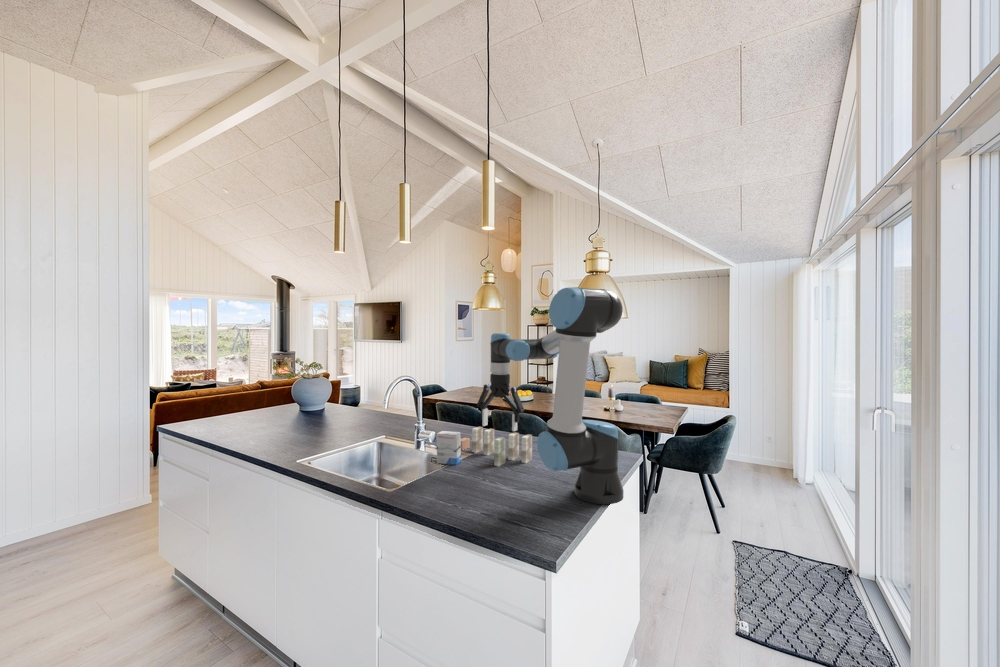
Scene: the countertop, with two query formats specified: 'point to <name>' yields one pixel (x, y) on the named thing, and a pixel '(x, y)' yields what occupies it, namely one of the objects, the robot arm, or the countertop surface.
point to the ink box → (448, 447)
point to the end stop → (465, 443)
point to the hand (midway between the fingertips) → (499, 428)
